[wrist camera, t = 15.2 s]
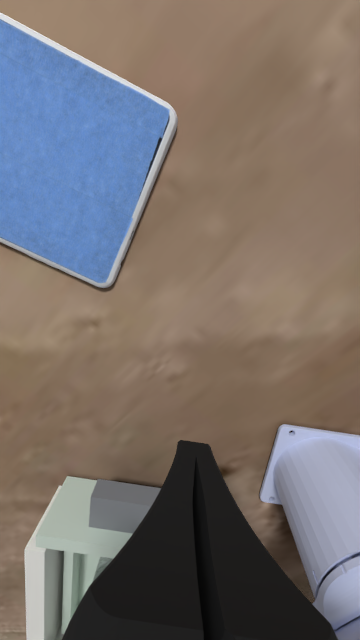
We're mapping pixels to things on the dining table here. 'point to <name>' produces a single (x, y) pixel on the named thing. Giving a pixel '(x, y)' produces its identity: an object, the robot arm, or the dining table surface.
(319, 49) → the dining table surface
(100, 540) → the tray
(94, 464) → the dining table surface
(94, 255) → the tablet computer
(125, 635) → the robot arm
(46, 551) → the white drawer housing
